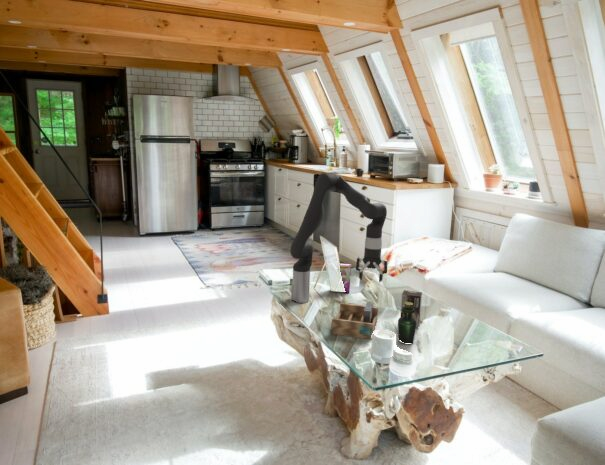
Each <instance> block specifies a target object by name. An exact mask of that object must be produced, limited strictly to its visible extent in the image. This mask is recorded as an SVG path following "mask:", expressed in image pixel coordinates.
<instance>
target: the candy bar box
mask: <svg viewBox="0 0 605 465" xmlns="http://www.w3.org/2000/svg"><path fill="white" fill-rule="evenodd" d="M338 263H339V262H338ZM339 264H340V272H341V276H342V281H343V284H344V288H345V291H346V292H347V293H346V294H350V289H351V288H350V287H351V275H352V274H351V273H352V264H349V263H339Z"/></svg>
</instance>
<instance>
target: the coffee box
mask: <svg viewBox="0 0 605 465" xmlns="http://www.w3.org/2000/svg"><path fill="white" fill-rule="evenodd" d="M401 293H402V294H401V307H400V317H403V316H404V312H403V311H402V308H403V307H405V304H404V303H405V302H411V303H413V308H414V310H415V312H414V313H412V316H411V317H412V318H414V319H415V320H416V322H417V324H416V329H419V328H420V324H421V312H422V298H423V292H422V291H421V292H420V291H412V290H403V291H402V292H401ZM418 327H419V328H418Z"/></svg>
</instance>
